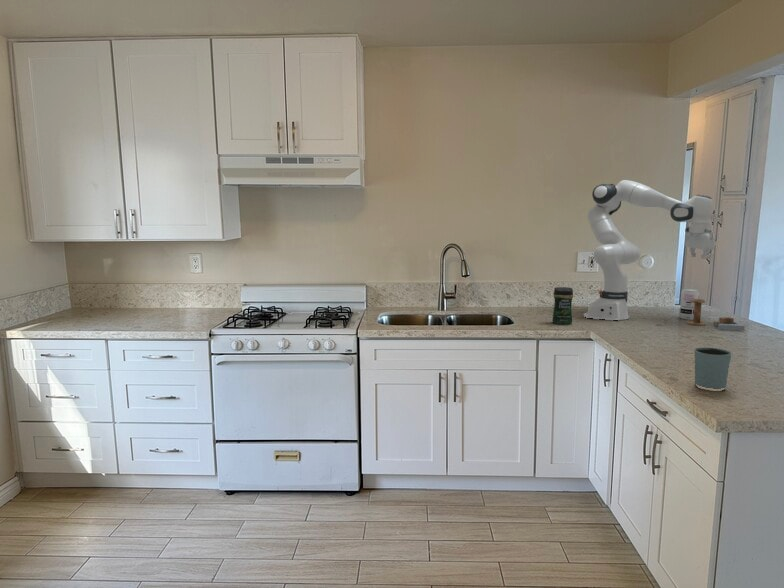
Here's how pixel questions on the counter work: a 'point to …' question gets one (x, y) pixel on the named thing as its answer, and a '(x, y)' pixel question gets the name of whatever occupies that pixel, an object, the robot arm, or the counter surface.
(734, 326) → the notch board
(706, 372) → the teal cup
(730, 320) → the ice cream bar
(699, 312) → the bobbin
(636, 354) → the counter surface
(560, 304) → the coffee jar
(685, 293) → the supplement can
